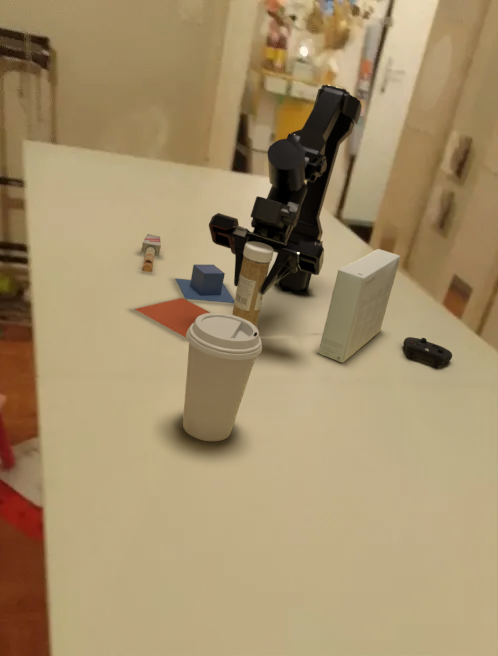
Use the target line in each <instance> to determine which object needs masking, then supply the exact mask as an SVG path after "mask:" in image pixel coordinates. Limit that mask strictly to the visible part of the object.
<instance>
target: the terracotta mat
mask: <svg viewBox="0 0 498 656" xmlns="http://www.w3.org/2000/svg"><path fill="white" fill-rule="evenodd" d="M134 310H136V312H139V313H141V314H143V315H144V316H146V317H148V318H150V319H151V320H153V321H155V322H157V323H159V324H161V325H162V326H164V327H166V328H168V329H169V330H171V331H173V332H174V333H176V334H178V335H180V336H182V337H184V338H186V333H187V331H188V329H189V327H190V326H191V325H192V324H193V323H194V322H195V320H196V318H197V317H198V316H200V315H202V314H206V313H211V312H210V311H209V310H206V309H204V308H203V307H201V306H199V305H197V304H195V303H193V302H191V301H189V300H188V299H185V298H183V297H181V298H175V299H171V300H168V301H163V302H158V303H154V304H150V305H145V306H142V307H137V308H134Z"/></svg>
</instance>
